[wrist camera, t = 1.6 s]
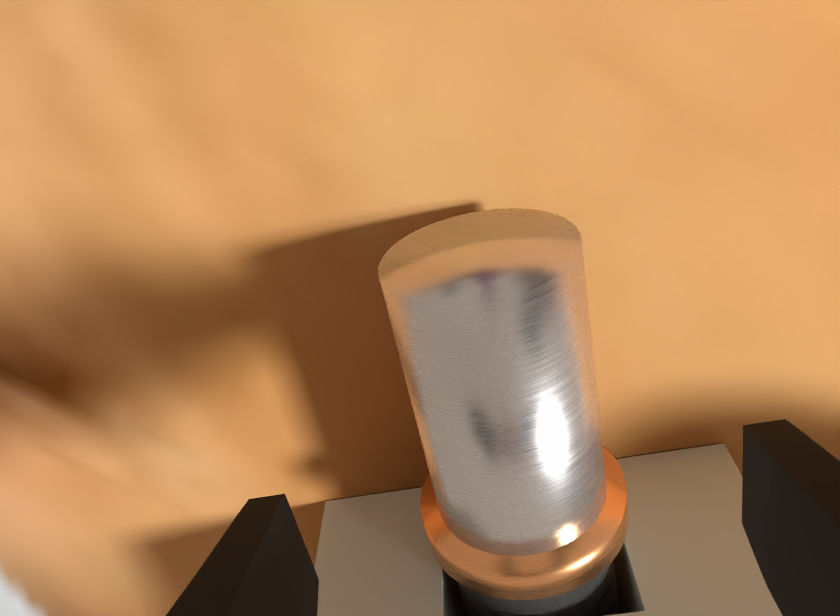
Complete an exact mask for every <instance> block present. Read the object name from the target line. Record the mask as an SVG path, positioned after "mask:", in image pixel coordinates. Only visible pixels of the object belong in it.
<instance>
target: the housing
mask: <svg viewBox="0 0 840 616" xmlns="http://www.w3.org/2000/svg"><path fill="white" fill-rule="evenodd" d="M616 460H617V462H618V463H619V465H620V467H621V469H622V472H623V474H624V478H625V482H626V491H627V503H628V517H629V523H628V531H627V534H626V538H625V541H624V543H623V545H622V547H621V549H620V551H619V553H618V554H617V556H616V557H615V558H614V562H615V572H616V582H617V592H618V601H619V611H620V614H615V615H607V616H782V614H781V612H780V610H779V608H778V606H777V604H776V602H775V601H774V599H773V597H772V595H771V593H770V591H769V589H768V587H767V585H766V583H765V580H764V578H763V575H762V573H761V571H760V568H759V566H758V563H757V561H756V558H755V556H754V553H753V551H752V548H751V546H750V543H749V540H748V538H747V535H746V533H745V530H744V527H743V525H742V475H741V473H740V471H739V469H738V468H737V466H736V464H735V462H734V460H733V458H732V457H731V455H730V453H729V451H728V449H727V447H726V446H725V444H724V443H722V444H716V445H709V446H702V447H695V448H688V449H681V450H674V451H667V452H661V453H654V454H647V455H640V456H633V457H626V458H619V459H616ZM422 488H423V487H420V488H413V489H406V490H400V491H393V492H386V493H379V494H372V495H365V496H358V497H351V498H345V499H338V500H331V501H325V507H324V513H323V519H322V525H321V530H320V536H319V542H318V548H317V554H316V560H315V566H314V569H315V571H316V574H317V576H318V579H319V589H318V610H317V616H466V612H465V609H464V605H463V601H462V597H461V593H460V589H459V585H458V582H457V581H456V580H455V579H453V578H452V577H451V576H450V575H448V574H447V573H446V571H445V570H444V569H443V568H442V567H441V566H440V565H439V563H438V562H437V560H436V559H435V557H434V555H433V553H432V550H431V548H430V545H429V541H428V538H427V534H426V530H425V527H424V523H423V519H422V515H421V509H420V499H421V492H422Z"/></svg>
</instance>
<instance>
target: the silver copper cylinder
mask: <svg viewBox="0 0 840 616" xmlns="http://www.w3.org/2000/svg"><path fill="white" fill-rule="evenodd" d="M378 277H379V280H380V284H381V288H382V292H383V296H384V300H385V304H386V307H387V311H388V315H389V319H390V323H391V327H392V331H393V334H394V338H395V342H396V346H397V350H398V354H399V358H400V361H401V365H402V369H403V373H404V377H405V381H406V385H407V388H408V392H409V396H410V400H411V404H412V408H413V412H414V416H415V419H416V423H417V427H418V431H419V435H420V439H421V443H422V446H423V450H424V454H425V458H426V462H427V466H428V470H429V474H428V476H427V478H426V480H425V482H424V485H423V488H422V492H421V499H420V509H421V515H422V519H423V523H424V527H425V530H426V534H427V538H428V541H429V545H430V548H431V550H432V553H433V555H434V557H435V559H436V560H437V562H438V563H439V565H440V566H441V567H442V568H443V569H444V570H445V571H446V573H447V574H448V575H450V576H451V577H452V578H453V579H455V580H456V581H457V582H458V585H459V589H460V593H461V597H462V601H463V605H464V609H465V612H466V616H607V615H615V614H620V611H619V601H618V592H617V582H616V572H615V562H614V558H615V557H616V556H617V554H618V553H619V551H620V549H621V547H622V545H623V543H624V541H625V538H626V534H627V531H628V523H629V517H628V503H627V491H626V482H625V478H624V474H623V472H622V469H621V467H620V465H619V463H618V462H617V460H616V459H615V457H614V456H613V455H612V454H611V453H610V452H609V451H608V449H606V448H605V447H604V446H603V445H602V435H601V426H600V416H599V406H598V396H597V387H596V377H595V367H594V357H593V348H592V338H591V328H590V318H589V308H588V299H587V289H586V279H585V269H584V260H583V250H582V240H581V235H580V232H579V231H578V229H577V227H576V226H574V225H573V224H572V223H571V222H570V221H568V220H566V219H565V218H563V217H560V216H558V215H555V214H552V213H548V212H544V211H538V210H531V209H494V210H484V211H478V212H472V213H467V214H462V215H458V216H454V217H450V218H447V219H444V220H441V221H438V222H435V223H432V224H430V225H427V226H425V227H423V228H421V229H418V230H416V231H414V232H413V233H411V234H409V235H407V236H406V237H404V238H402V239H401V240H399V241H398V242H397V243H396V244H394V245H393V246H392V247H391V248H390V249H389V250H388V251H387V252H386V253H385V255H384V256H383V257H382V259H381V261H380V263H379V267H378Z"/></svg>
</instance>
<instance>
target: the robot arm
mask: <svg viewBox="0 0 840 616" xmlns="http://www.w3.org/2000/svg"><path fill="white" fill-rule="evenodd" d="M742 525H743V527H744V530H745V533H746V535H747V538H748V540H749V543H750V546H751V548H752V551H753V553H754V556H755V558H756V561H757V563H758V566H759V568H760V571H761V573H762V575H763V578H764V580H765V583H766V585H767V587H768V589H769V591H770V593H771V595H772V597H773V599H774V601H775V602H776V604H777V606H778V608H779V610H780V612H781V614H782V616H840V460H838V459H837V458H836V457H834V456H833V455H832V454H830V453H829V452H828V451H826V450H825V449H824V448H823V447H821V446H820V445H819V444H817V443H816V442H815V441H813V440H812V439H811V438H810V437H808V436H807V435H806V434H804V433H803V432H802V431H800V430H799V429H798V428H796V427H795V426H794V425H792V424H791V423H790V422H788V421H787V420H786V419H784V420H777V421H770V422H764V423H757V424H750V425H743V476H742ZM318 589H319V579H318V576H317V574H316V571H315V569H314V566H313V564H312V561H311V559H310V556H309V554H308V551H307V549H306V546H305V544H304V541H303V538H302V536H301V533H300V531H299V528H298V526H297V523H296V521H295V518H294V516H293V513H292V511H291V508H290V506H289V503H288V501H287V498H286V496H285V494H280V495H274V496H267V497H260V498H254V499H249V500H248V501H247V503H246V504H245V505H244V507H243V508H242V509H241V511H240V512H239V514H238V515H237V516H236V518H235V519H234V521H233V522H232V523H231V525H230V526H229V528H228V529H227V531H226V532H225V533H224V535H223V536H222V538H221V539H220V541H219V542H218V544H217V545H216V546H215V548H214V549H213V551H212V552H211V554H210V555H209V556H208V558H207V559H206V561H205V562H204V564H203V565H202V566H201V568H200V569H199V571H198V572H197V574H196V575H195V576H194V578H193V579H192V580H191V582H190V583H189V585H188V586H187V587H186V589H185V590H184V591H183V593H182V594H181V596H180V597H179V598H178V600H177V601H176V602H175V604H174V605H173V607H172V608H171V609H170V611H169V612H168V613H167V615H166V616H317V610H318Z"/></svg>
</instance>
